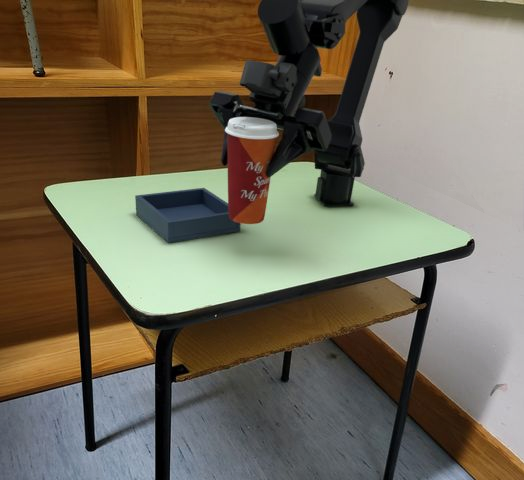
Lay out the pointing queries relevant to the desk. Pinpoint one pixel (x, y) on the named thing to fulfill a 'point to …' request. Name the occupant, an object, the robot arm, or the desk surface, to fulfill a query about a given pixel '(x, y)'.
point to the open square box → (185, 214)
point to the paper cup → (249, 167)
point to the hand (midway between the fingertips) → (244, 169)
